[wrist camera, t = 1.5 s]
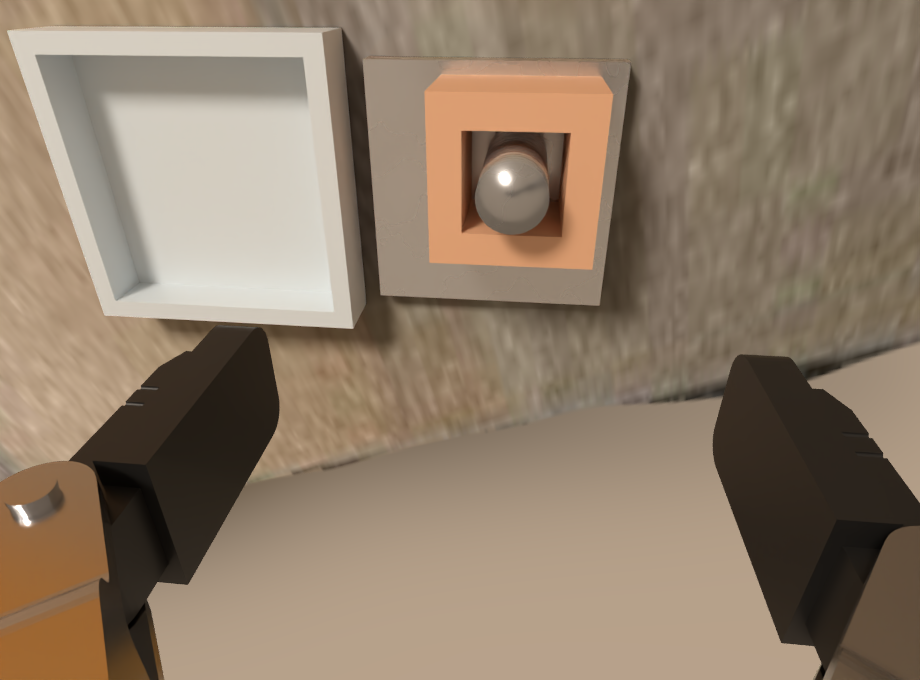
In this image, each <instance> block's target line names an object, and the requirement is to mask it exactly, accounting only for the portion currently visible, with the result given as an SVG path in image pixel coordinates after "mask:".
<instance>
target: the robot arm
mask: <svg viewBox="0 0 920 680" xmlns="http://www.w3.org/2000/svg"><path fill="white" fill-rule="evenodd" d="M278 418H279V396H278V391H277V386H276V381H275V375H274V370H273V365H272V359H271V354H270V349H269V343H268V339H267V336H266V333H265V332H264V330H263V329H262V328H259V327H242V326H223V325H219V326H216V327H214V328H213V329H212V330H211V331H210V332H209V333H208V334H207V336H206V337H205V338H204V339H203V340H202V341H201V342H200V343H199V344H198V345H197V346H196V348H195V349H194V350H193V351H192V352H191V351H186V352H184V353H182V354H180V355H179V356H177V357H175V358H174V359H172V360H170V361H168V362H167V363H165V364H163V365H161V366H160V367H158V369H157V370H156V371H155V372H154V373H153V374H152V375H151V376H150V377H149V378H148V379H147V380H146V381H145V382H144V383H143V384H142V385H141V390H136V391H135V392H134V393H133V394H132V396H131V397H130V398H129V399H128V400H127V401H126V405H125V406H121V407H120V408H119V409H118V410H117V411H116V412H115V413H114V414H113V415H112V416H111V417H110V418H109V419H108V420H107V421H106V423H105V424H104V425H103V426H102V427H101V428H100V429H99V430H98V431H97V432H96V433H95V434H94V435H93V436H92V437H91V438H90V439H89V440H88V441H87V442H86V443H85V444H84V445H83V446H82V447H81V449H80V450H79V451H78V452H77V453H76V454H75V455H74V456H73V457H72V458H71V459H70V460H69V461H57V462H50V463H44V464H41V465H37V466H33V467H31V468H28V469H25V470H22V471H20V472H18V473H16V474H13V475H12V476H10V477H8V478H6V479H4V480H3V481H1V482H0V680H164V676H163V670H162V665H161V660H160V655H159V649H158V645H157V639H156V634H155V628H154V623H153V618H152V613H151V609H150V606H149V604H148V601H147V598H148V596H149V594H150V593H151V591H152V589H153V588H154V587H155V585H156V583H157V582H164V583H175V584H185V585H188V584H189V582H190V580H191V578H192V577H193V575H194V573H195V571H196V570H197V568H198V566H199V564H200V563H201V561H202V559H203V557H204V556H205V554H206V552H207V550H208V549H209V547H210V545H211V543H212V542H213V540H214V538H215V536H216V535H217V533H218V531H219V529H220V528H221V526H222V524H223V522H224V521H225V519H226V517H227V515H228V513H229V512H230V510H231V508H232V506H233V505H234V503H235V501H236V499H237V498H238V496H239V494H240V492H241V491H242V489H243V487H244V485H245V484H246V482H247V480H248V478H249V477H250V475H251V473H252V471H253V470H254V468H255V466H256V464H257V463H258V461H259V459H260V457H261V456H262V454H263V452H264V450H265V449H266V447H267V445H268V443H269V442H270V440H271V438H272V436H273V434H274V432H275V430H276V427H277V423H278ZM868 435H869V433H868V432H867V430H866V429H865V428H864V426H863V425H862V424H861V422H860V421H859V420H858V418H857V417H856V415H855V414H854V413H853V411H852V410H851V409H849V408H848V407H847V406H845V405H844V404H842V403H841V402H840V401H838V400H837V399H836V398H834V397H833V396H831V395H830V394H829V393H827V392H826V391H825V390H823V389H812V388H811V387H810V385H809V384H808V382H807V380H806V379H805V378H804V376H803V375H802V373H801V372H800V370H799V369H798V367H797V366H796V364H795V363H794V361H793V360H792V359H791V358H789V357H779V356H761V355H742V354H741V355H738V356H737V357H736V358H735V360H734V362H733V364H732V367H731V370H730V374H729V377H728V381H727V385H726V388H725V392H724V396H723V399H722V403H721V407H720V410H719V414H718V417H717V421H716V425H715V429H714V434H713V455H714V462H715V465H716V468H717V471H718V474H719V477H720V479H721V482H722V485H723V487H724V490H725V493H726V496H727V498H728V501H729V504H730V506H731V509H732V511H733V514H734V517H735V520H736V522H737V525H738V528H739V530H740V533H741V536H742V538H743V541H744V544H745V547H746V549H747V552H748V555H749V557H750V560H751V562H752V566H753V568H754V571H755V574H756V576H757V579H758V581H759V584H760V587H761V590H762V592H763V595H764V598H765V600H766V603H767V606H768V608H769V611H770V614H771V617H772V619H773V622H774V625H775V627H776V630H777V633H778V635H779V638H780V641H781V643H787V644H798V645H809V646H815V648H816V651H817V653H818V656H819V658H820V660H821V665H820V667H819V669H818V671H817V673H816V675H815V676H814V679H813V680H920V503H919V502H918V500H917V499H916V498H915V496H914V495H913V493H912V492H911V490H910V489H909V488H908V486H907V485H906V484H905V482H904V481H903V480H902V478H901V477H900V476H899V474H898V473H897V472H896V470H895V469H894V467H893V466H892V465H891V463H890V462H889V461H888V459H887V458H883V452H882V451H881V450H880V448H879V447H878V446H877V444H876V443H875V441H874V440H873V439H872V438H869V437H868Z"/></svg>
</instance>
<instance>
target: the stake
mask: <svg viewBox="0 0 920 680" xmlns="http://www.w3.org/2000/svg"><path fill="white" fill-rule="evenodd" d="M630 68H631V61H629V60H628V59H584V58H487V57H390V56H368V57H366V58H364V59H363V71H364V84H365V97H366V110H367V123H368V136H369V149H370V162H371V175H372V188H373V201H374V215H375V228H376V241H377V254H378V267H379V280H380V293H381V295H387V296H408V297H429V298H450V299H470V300H491V301H512V302H533V303H554V304H575V305H596V306H599V305H600V298H601V290H602V282H603V275H604V267H605V259H606V252H607V244H608V236H609V229H610V221H611V213H612V206H613V198H614V190H615V183H616V175H617V167H618V160H619V152H620V144H621V137H622V129H623V121H624V114H625V106H626V98H627V91H628V83H629V75H630ZM441 74H444V75H521V76H597V77H602V78H603V79H604V81H605V82H606V84H607V85H608V87H609V88H610V90H611V92H612V93H613V101H612V109H611V118H610V126H609V135H608V143H607V151H606V160H605V168H604V176H603V185H602V193H601V201H600V210H599V218H598V226H597V235H596V243H595V252H594V260H593V268H592V270H587V269H564V268H540V267H517V266H493V265H470V264H446V263H429V229H428V195H427V162H426V128H425V94H424V91H425V90H426V89H427V88H428V87H429V86H430V85H431V84H432V83H433V82H434V81H435V80H436V79H437V78H438V77H439V76H440V75H441ZM563 142H564V133H551V132H505V131H472V199H475V205H476V209H477V212H478V214H479V216H480V218H481V219H482V221H483V222H484V223H485V224H486V225H487V226H488V227H490V228H491V229H493V230H495V231H496V232H499V233H502V234H508V235H516V234H521V233H525V232H527V231H529V230H531V229H533V228H534V227H535V226H537V225H538V224H539V223H540V222H541V220H542V219H543V218H544V216H545V214H546V212H547V209H548V206H549V202H559V190H560V178H561V166H562V154H563Z"/></svg>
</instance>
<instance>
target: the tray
mask: <svg viewBox="0 0 920 680" xmlns="http://www.w3.org/2000/svg"><path fill="white" fill-rule="evenodd" d="M7 32H8V35H9V38H10V41H11V44H12V47H13V50H14V53H15V56H16V59H17V61H18V64H19V67H20V70H21V73H22V76H23V79H24V82H25V85H26V88H27V91H28V94H29V96H30V99H31V102H32V105H33V108H34V111H35V114H36V117H37V120H38V123H39V126H40V129H41V131H42V134H43V137H44V140H45V143H46V146H47V149H48V152H49V155H50V158H51V161H52V164H53V166H54V169H55V172H56V175H57V178H58V181H59V184H60V187H61V190H62V193H63V196H64V199H65V201H66V204H67V207H68V210H69V213H70V216H71V219H72V222H73V225H74V228H75V231H76V234H77V236H78V239H79V242H80V245H81V248H82V251H83V254H84V257H85V260H86V263H87V266H88V269H89V271H90V274H91V277H92V280H93V283H94V286H95V289H96V292H97V295H98V298H99V301H100V304H101V306H102V309H103V312H104V315H106V316H125V317H144V318H162V319H181V320H200V321H218V322H237V323H256V324H274V325H293V326H312V327H330V328H349V329H353V328H354V326H355V324H356V323H357V321H358V319H359V317H360V315H361V313H362V311H363V309H364V307H365V305H366V293H365V282H364V271H363V260H362V249H361V237H360V226H359V215H358V204H357V193H356V182H355V171H354V160H353V149H352V138H351V127H350V116H349V105H348V94H347V83H346V72H345V61H344V50H343V39H342V28H316V27H145V26H47V27H37V28H27V29H17V30H7Z"/></svg>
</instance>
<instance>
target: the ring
mask: <svg viewBox="0 0 920 680" xmlns="http://www.w3.org/2000/svg"><path fill="white" fill-rule="evenodd" d="M424 94H425V128H426V162H427V195H428V229H429V263H446V264H470V265H493V266H517V267H540V268H564V269H587V270H592V268H593V260H594V252H595V243H596V235H597V226H598V218H599V210H600V201H601V193H602V185H603V176H604V168H605V160H606V151H607V143H608V135H609V126H610V118H611V109H612V101H613V93H612V92H611V90H610V88H609V87H608V85H607V84H606V82H605V81H604V79H603V78H602V77H597V76H521V75H444V74H441V75H440V76H439V77H438V78H437V79H436V80H435V81H434V82H433V83H432V84H431V85H430V86H429V87H428V88H427V89H426V90H425V91H424ZM472 131H505V132H551V133H564V142H563V154H562V166H561V178H560V190H559V202H549V206H548V209H547V212H546V214H545V216H544V218H543V219H542V220H541V222H540V223H539V224H538V225H537V226H535V227H534V228H533V229H531V230H529V231H527V232H525V233H521V234H516V235H508V234H502V233H499V232H496V231H495V230H493V229H491V228H490V227H488V226H487V225H486V224H485V223H484V222H483V221H482V219H481V218H480V216H479V214H478V212H477V209H476V205H475V199H472Z"/></svg>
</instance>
